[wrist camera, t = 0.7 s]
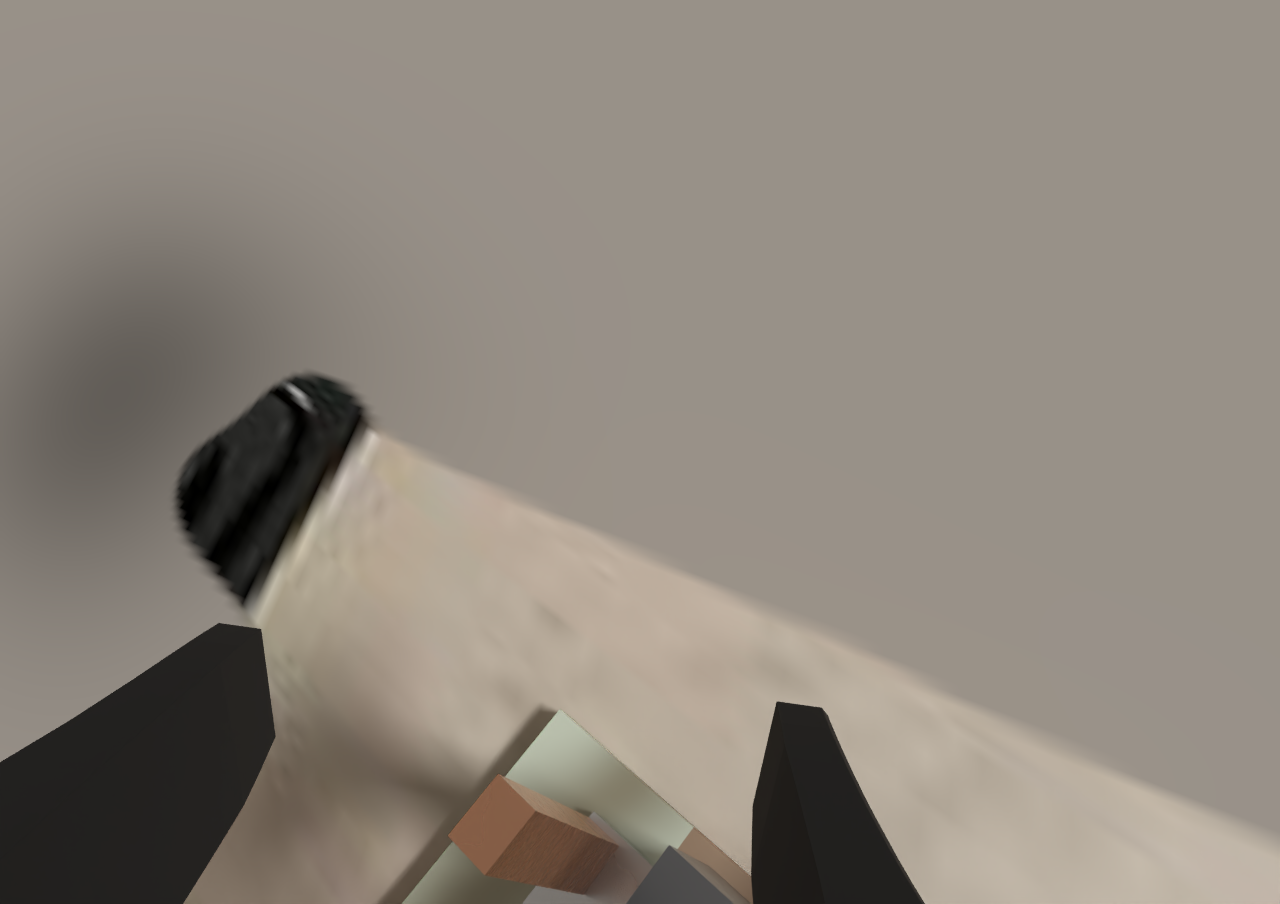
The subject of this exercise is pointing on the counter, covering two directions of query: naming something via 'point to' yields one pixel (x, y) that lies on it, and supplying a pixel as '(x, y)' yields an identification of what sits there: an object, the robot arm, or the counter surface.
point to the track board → (584, 781)
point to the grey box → (684, 883)
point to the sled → (548, 847)
